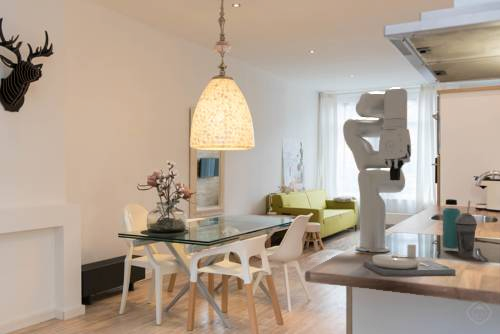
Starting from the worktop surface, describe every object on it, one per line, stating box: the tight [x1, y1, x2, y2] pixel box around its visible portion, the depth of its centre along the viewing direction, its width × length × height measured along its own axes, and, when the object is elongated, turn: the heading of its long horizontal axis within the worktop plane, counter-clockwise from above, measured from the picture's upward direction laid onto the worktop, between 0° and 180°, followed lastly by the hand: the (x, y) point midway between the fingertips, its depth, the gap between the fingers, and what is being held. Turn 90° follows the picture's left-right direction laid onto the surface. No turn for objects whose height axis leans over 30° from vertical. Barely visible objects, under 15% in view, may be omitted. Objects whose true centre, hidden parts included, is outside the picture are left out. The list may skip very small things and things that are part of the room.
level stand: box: [363, 259, 456, 277], centre depth 139 cm, size 15×22×2 cm
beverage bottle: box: [441, 198, 461, 250], centre depth 177 cm, size 6×7×20 cm
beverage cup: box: [455, 200, 478, 258], centre depth 166 cm, size 7×7×20 cm
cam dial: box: [372, 243, 419, 269], centre depth 139 cm, size 13×13×6 cm
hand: (394, 180), depth 153 cm, fingers closed
